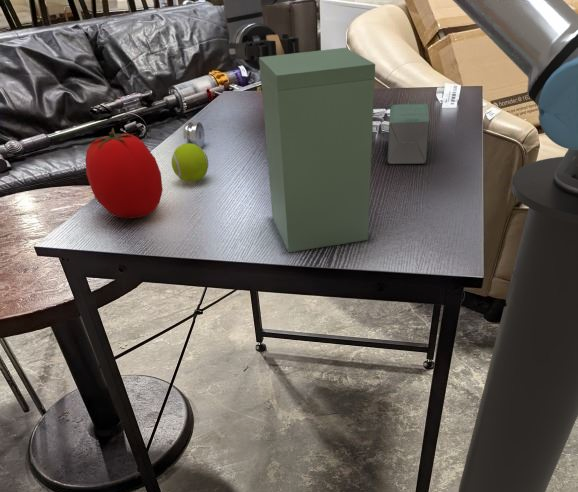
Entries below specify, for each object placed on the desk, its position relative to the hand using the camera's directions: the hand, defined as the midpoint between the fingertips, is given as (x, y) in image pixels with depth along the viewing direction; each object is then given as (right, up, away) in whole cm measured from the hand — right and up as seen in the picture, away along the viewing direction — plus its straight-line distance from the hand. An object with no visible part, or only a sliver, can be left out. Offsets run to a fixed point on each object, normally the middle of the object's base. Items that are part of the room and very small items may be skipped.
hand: (282, 50), depth 84 cm
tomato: (-25, -25, +5) cm, 36 cm away
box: (+24, -8, +20) cm, 33 cm away
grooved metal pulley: (-19, -2, +31) cm, 37 cm away
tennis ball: (-17, -15, +16) cm, 28 cm away
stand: (+6, -30, -3) cm, 30 cm away
